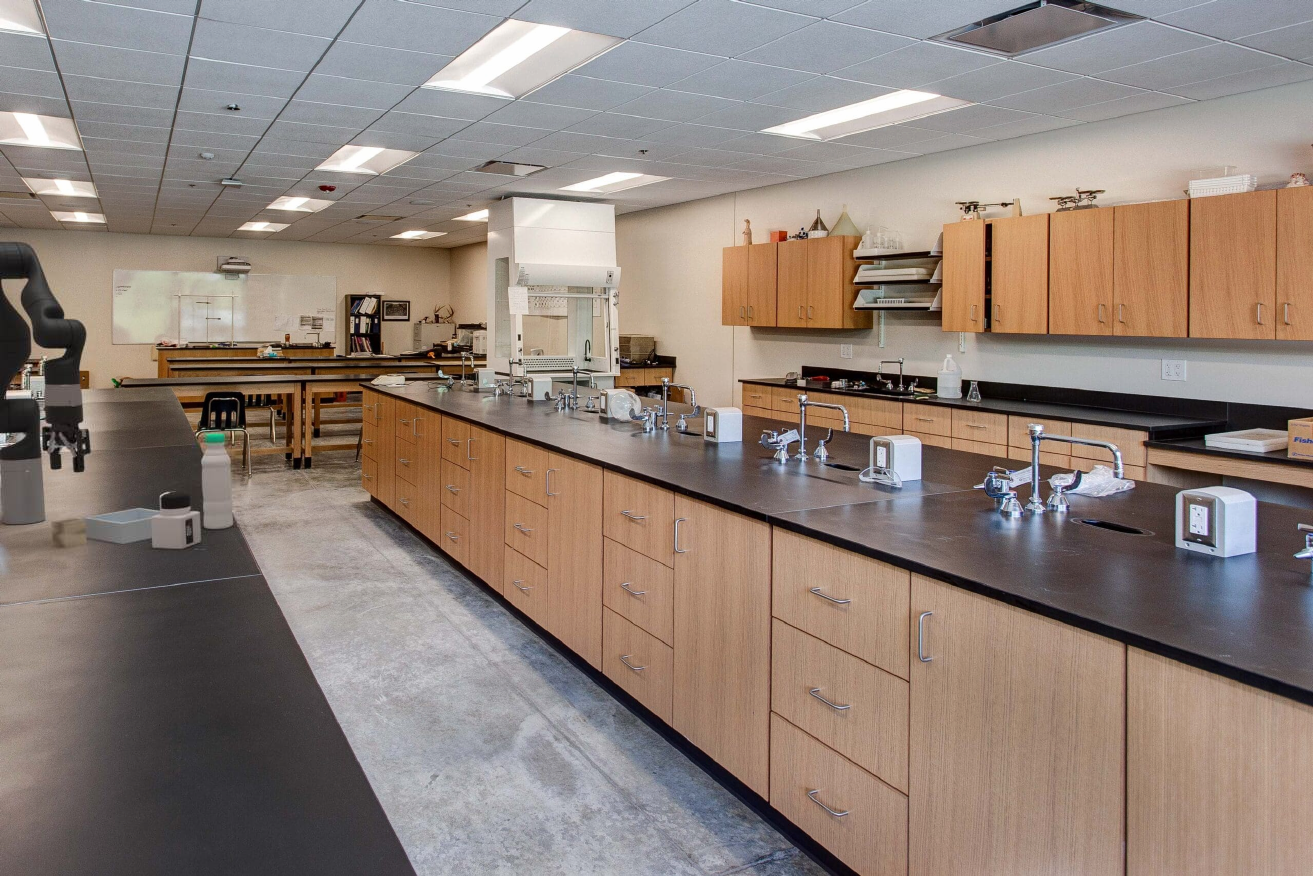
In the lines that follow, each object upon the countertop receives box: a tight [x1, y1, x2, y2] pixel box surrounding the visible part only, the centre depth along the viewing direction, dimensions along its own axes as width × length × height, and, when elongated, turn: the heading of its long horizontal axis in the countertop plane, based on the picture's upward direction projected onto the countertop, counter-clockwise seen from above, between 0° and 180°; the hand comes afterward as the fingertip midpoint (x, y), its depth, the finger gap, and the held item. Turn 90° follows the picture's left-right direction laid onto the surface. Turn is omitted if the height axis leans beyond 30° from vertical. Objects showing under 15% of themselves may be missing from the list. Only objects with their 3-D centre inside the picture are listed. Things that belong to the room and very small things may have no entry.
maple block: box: [51, 517, 88, 549], centre depth 215 cm, size 5×5×6 cm
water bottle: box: [200, 432, 234, 530], centre depth 236 cm, size 7×7×25 cm
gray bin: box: [82, 507, 162, 545], centre depth 227 cm, size 15×15×5 cm
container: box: [151, 490, 202, 550], centre depth 216 cm, size 8×8×13 cm
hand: (67, 470), depth 214 cm, fingers open, 8 cm apart
